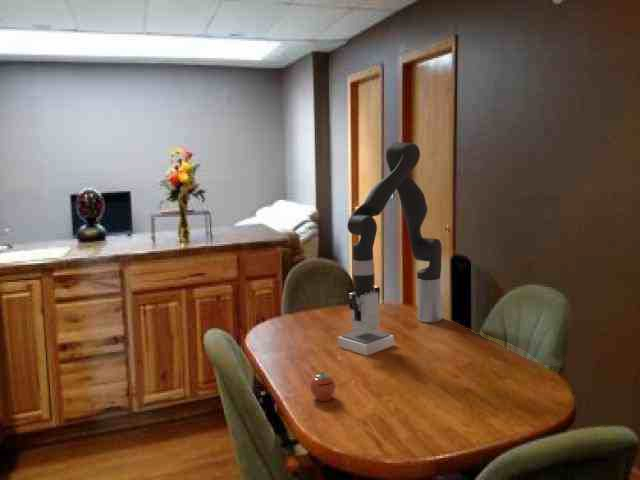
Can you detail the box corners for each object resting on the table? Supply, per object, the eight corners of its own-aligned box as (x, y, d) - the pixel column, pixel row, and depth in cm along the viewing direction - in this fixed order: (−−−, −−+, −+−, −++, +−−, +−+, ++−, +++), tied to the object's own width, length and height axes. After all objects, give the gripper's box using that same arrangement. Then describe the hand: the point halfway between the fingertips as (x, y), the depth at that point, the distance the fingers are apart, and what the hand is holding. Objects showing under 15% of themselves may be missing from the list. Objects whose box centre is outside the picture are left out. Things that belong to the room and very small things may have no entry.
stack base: (365, 337, 214) (365, 326, 213) (393, 345, 204) (393, 334, 203) (338, 346, 205) (337, 335, 204) (366, 355, 195) (366, 344, 194)
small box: (380, 329, 202) (378, 292, 200) (367, 333, 198) (365, 296, 196) (364, 324, 209) (362, 289, 207) (351, 328, 205) (349, 292, 203)
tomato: (314, 405, 157) (312, 377, 156) (307, 395, 164) (305, 368, 163) (339, 401, 159) (338, 373, 158) (331, 391, 166) (330, 364, 165)
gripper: (370, 267, 208) (371, 312, 210) (341, 274, 199) (343, 321, 201) (385, 270, 202) (386, 316, 205) (356, 277, 193) (358, 325, 195)
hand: (365, 318), depth 203 cm, fingers closed on small box, 6 cm apart
